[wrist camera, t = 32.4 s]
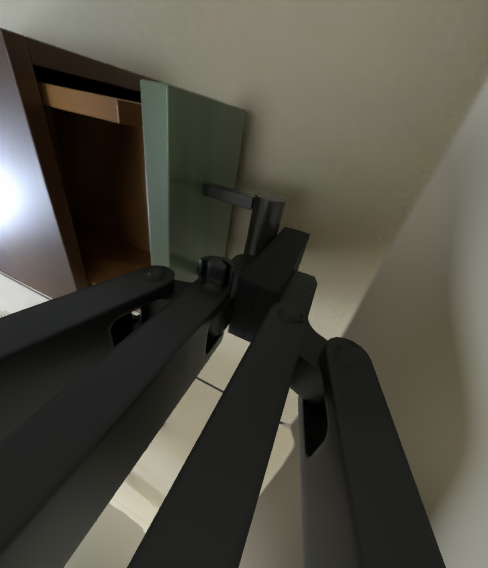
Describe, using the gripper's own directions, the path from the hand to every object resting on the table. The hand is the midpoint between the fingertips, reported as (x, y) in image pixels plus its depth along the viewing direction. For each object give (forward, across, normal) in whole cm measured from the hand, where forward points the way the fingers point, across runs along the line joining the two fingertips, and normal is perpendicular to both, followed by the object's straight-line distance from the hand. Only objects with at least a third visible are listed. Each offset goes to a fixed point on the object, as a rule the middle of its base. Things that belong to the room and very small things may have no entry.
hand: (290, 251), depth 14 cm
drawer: (+2, -11, 0) cm, 11 cm away
